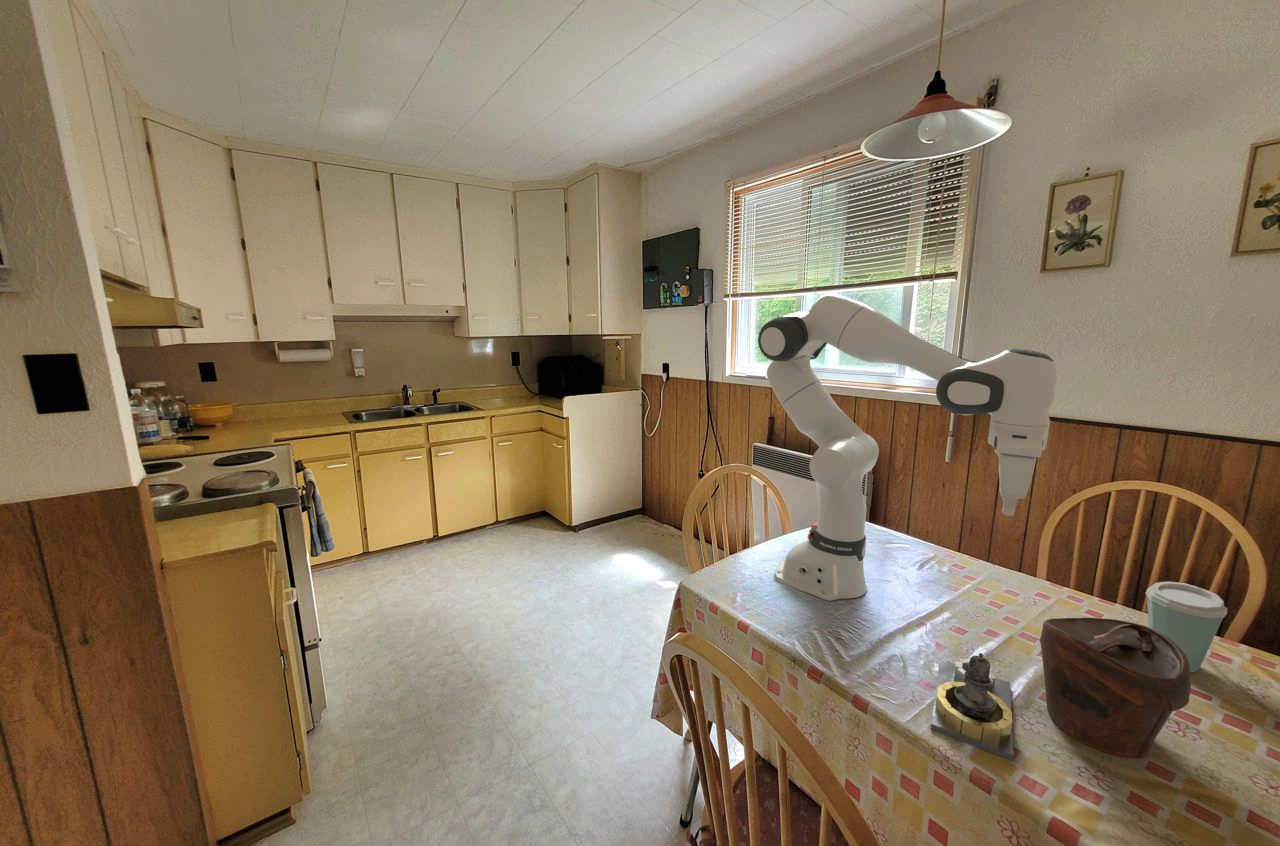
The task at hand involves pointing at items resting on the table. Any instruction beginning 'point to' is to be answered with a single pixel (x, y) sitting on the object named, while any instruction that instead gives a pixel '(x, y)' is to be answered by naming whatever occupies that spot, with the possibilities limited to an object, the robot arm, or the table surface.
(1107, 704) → the case
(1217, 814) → the table surface
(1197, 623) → the disposable coffee cup
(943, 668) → the socket plate
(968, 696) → the stone chess piece
